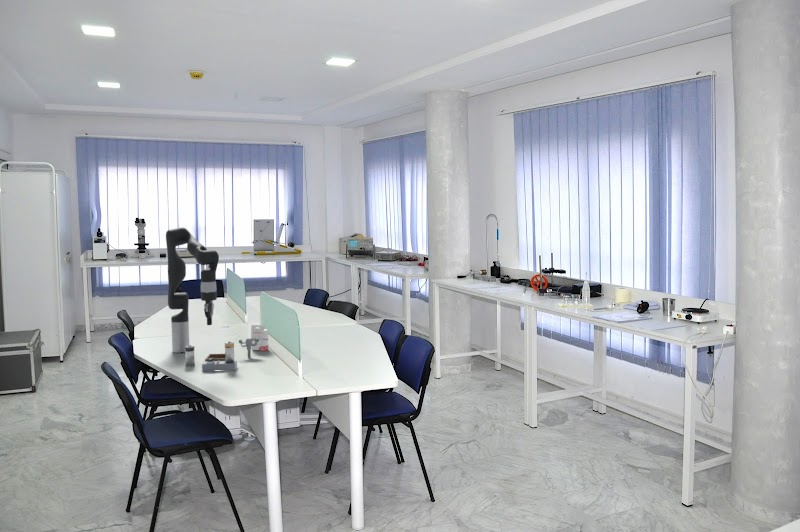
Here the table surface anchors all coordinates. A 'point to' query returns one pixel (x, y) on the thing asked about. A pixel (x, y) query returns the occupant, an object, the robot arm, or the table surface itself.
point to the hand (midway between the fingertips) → (209, 324)
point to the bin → (216, 357)
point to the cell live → (229, 352)
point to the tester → (219, 366)
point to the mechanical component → (249, 344)
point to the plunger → (210, 361)
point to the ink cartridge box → (260, 337)
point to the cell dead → (189, 355)
